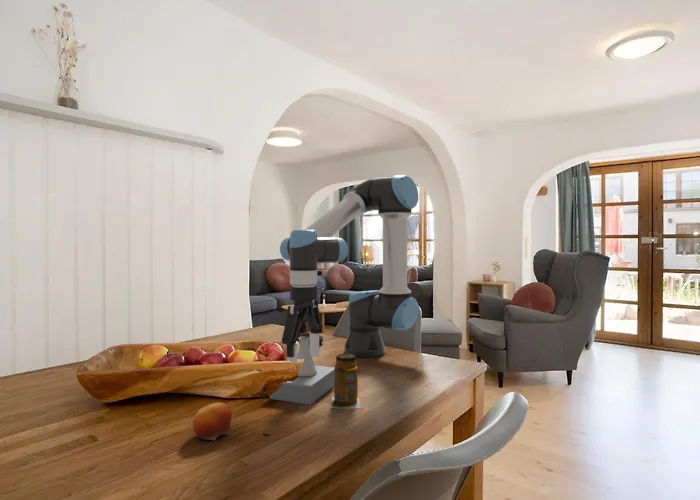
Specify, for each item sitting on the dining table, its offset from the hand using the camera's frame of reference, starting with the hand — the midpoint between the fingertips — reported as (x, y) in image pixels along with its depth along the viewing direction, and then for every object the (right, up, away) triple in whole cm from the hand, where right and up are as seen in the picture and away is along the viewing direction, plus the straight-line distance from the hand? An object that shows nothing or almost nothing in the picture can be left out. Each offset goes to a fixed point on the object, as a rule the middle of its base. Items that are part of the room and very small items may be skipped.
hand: (303, 362), depth 119 cm
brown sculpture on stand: (-6, -7, +56) cm, 57 cm away
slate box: (0, -8, 0) cm, 8 cm away
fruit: (-17, -9, -27) cm, 33 cm away
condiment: (+12, -9, -8) cm, 17 cm away
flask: (0, -3, 0) cm, 3 cm away
